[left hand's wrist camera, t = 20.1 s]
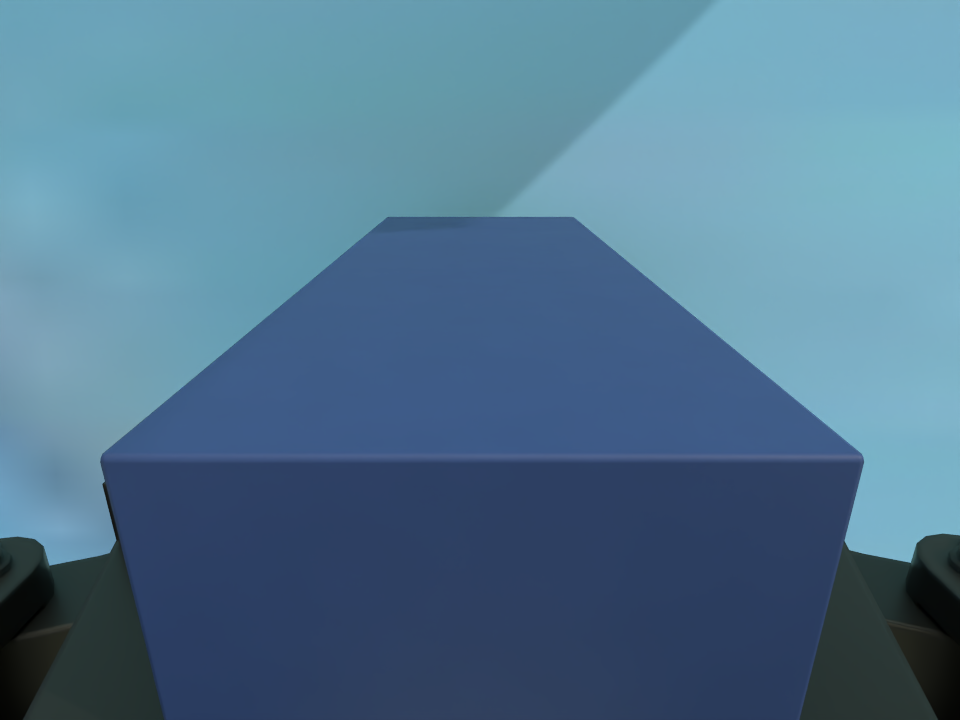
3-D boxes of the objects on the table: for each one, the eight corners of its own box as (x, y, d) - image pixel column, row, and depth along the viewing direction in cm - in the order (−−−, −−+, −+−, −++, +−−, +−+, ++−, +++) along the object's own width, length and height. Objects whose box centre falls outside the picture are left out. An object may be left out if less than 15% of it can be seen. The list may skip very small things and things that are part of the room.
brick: (560, 481, 17) (706, 1100, 6) (400, 481, 17) (255, 1101, 6) (574, 216, 15) (869, 456, 4) (386, 216, 15) (93, 456, 4)
